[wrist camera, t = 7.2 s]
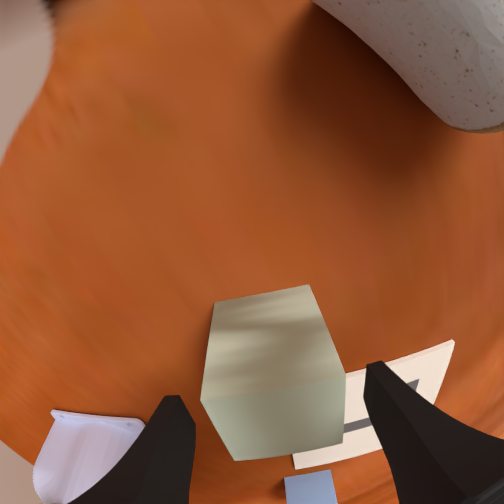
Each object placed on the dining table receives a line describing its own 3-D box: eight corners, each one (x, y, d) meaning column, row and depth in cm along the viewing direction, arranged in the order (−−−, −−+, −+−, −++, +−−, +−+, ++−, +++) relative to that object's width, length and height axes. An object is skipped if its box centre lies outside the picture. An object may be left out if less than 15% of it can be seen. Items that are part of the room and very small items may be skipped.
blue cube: (287, 490, 23) (291, 523, 19) (284, 476, 21) (288, 514, 17) (328, 482, 23) (334, 515, 19) (330, 468, 21) (337, 505, 17)
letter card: (294, 465, 20) (295, 469, 20) (279, 387, 16) (280, 392, 15) (418, 431, 20) (419, 434, 19) (452, 339, 15) (455, 342, 15)
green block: (236, 368, 15) (234, 461, 10) (214, 301, 14) (200, 399, 8) (316, 353, 15) (342, 443, 9) (308, 284, 13) (346, 375, 8)
